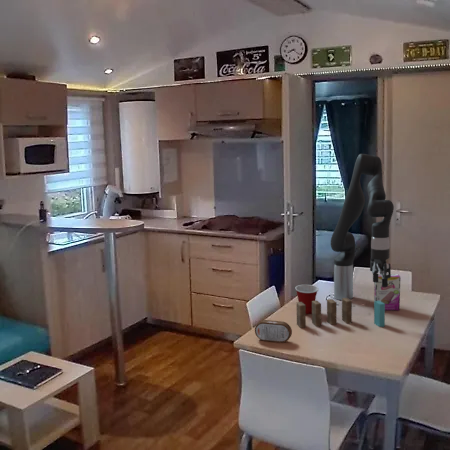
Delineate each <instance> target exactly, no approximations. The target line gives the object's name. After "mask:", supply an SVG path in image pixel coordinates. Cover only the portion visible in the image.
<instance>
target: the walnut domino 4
mask: <svg viewBox="0 0 450 450" xmlns="http://www.w3.org/2000/svg"><path fill="white" fill-rule="evenodd" d="M352 307H353V304H352V299H348V298H342V300H341V321H343V322H344V323H345V324H352V321H353V319H352V318H353V317H352V316H353V314H352V311H353V308H352Z"/></svg>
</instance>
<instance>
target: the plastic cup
mask: <svg viewBox="0 0 450 450" xmlns="http://www.w3.org/2000/svg"><path fill="white" fill-rule="evenodd" d="M294 288H295V291H296V295H297V302H302V303H304V304H305V307H306V315H310V314H311V315H312V301H316V298H317V294H318V292H319V287H318V286H316V285H314V284H299V285H296V286H295V287H294Z"/></svg>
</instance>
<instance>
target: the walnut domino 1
mask: <svg viewBox="0 0 450 450" xmlns="http://www.w3.org/2000/svg"><path fill="white" fill-rule="evenodd" d="M306 315H307V314H306V307H305V304H304V303H302V302H299V301H297V302H296V326H297V327H298V328H300V329H305V327H306V325H307V322H306V321H307V320H306V319H307V318H306V317H307V316H306ZM306 328H307V327H306Z"/></svg>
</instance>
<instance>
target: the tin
mask: <svg viewBox="0 0 450 450" xmlns="http://www.w3.org/2000/svg"><path fill="white" fill-rule="evenodd" d="M254 332H255V333H254V334H255V336H256V337H257V338H258V339H259V340H260V341H263V342H274V343H285V342H288V341H289V340H290V338H291V337H292V333H293V329H292V327H291V326H290V324H289V323H287V322H285V321H282V320H281V321H280V320H271V319H270V320H269V319H262V320H260V321H258V322H257V323H256V325H255V327H254Z"/></svg>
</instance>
